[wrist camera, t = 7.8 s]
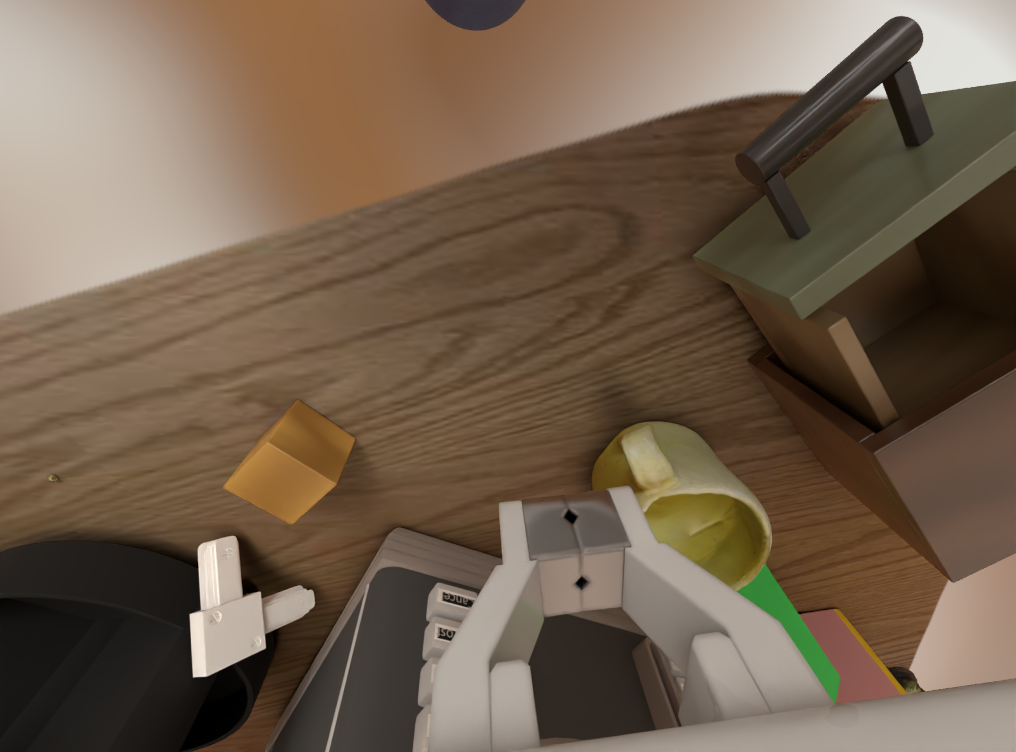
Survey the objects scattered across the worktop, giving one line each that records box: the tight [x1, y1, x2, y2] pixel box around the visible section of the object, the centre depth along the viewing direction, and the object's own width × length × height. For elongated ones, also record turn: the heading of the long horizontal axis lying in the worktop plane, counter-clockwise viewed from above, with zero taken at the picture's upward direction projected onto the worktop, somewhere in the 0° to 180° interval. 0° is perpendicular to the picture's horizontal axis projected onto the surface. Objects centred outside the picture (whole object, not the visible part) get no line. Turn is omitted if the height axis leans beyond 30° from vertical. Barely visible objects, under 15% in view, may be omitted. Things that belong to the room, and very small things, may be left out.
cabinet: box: [747, 344, 1016, 583], centre depth 23 cm, size 14×12×10 cm
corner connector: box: [190, 536, 315, 677], centre depth 30 cm, size 8×8×2 cm
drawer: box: [693, 16, 1016, 434], centre depth 19 cm, size 17×10×8 cm, turn 43°
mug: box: [592, 421, 772, 591], centre depth 26 cm, size 12×10×10 cm
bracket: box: [736, 564, 841, 703], centre depth 37 cm, size 12×8×7 cm
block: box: [223, 400, 355, 525], centre depth 25 cm, size 4×4×4 cm
